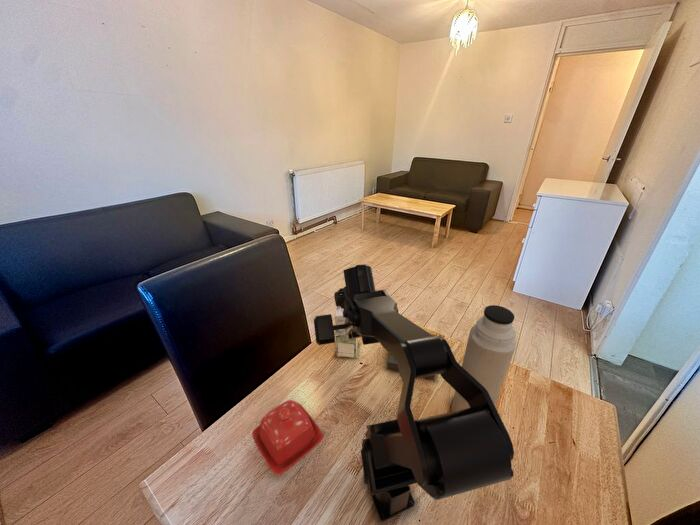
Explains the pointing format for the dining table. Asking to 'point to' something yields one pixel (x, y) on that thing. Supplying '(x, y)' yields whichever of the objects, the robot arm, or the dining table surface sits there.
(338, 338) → the syrup box
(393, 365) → the scale
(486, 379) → the thermos bottle
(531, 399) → the dining table surface
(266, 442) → the butter dish
